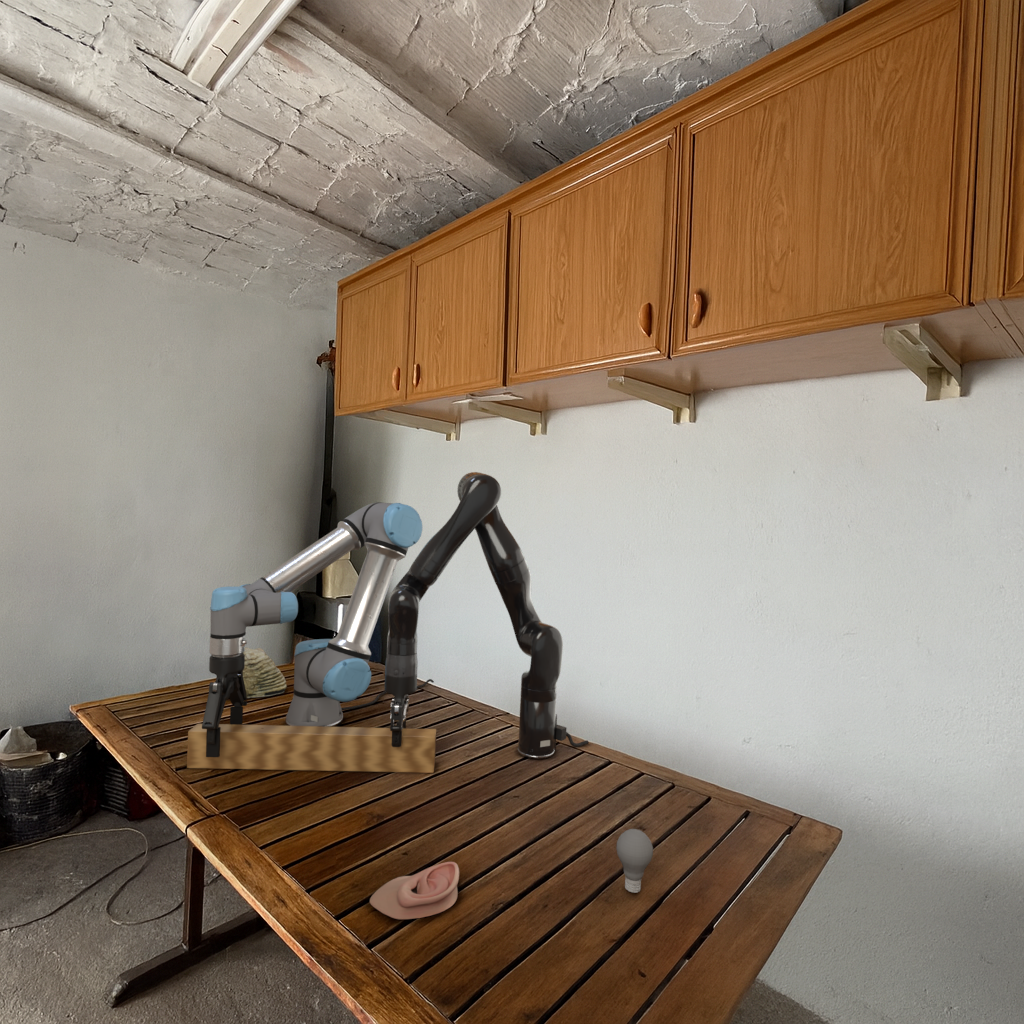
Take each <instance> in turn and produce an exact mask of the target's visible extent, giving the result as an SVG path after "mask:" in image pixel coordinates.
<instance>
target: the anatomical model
mask: <svg viewBox="0 0 1024 1024" xmlns="http://www.w3.org/2000/svg"><path fill="white" fill-rule="evenodd" d="M459 879H460V868H459V865H458V864H457V863H456V862H455V861H446V862H442V863H438V864H435V865H433V866H430V867H427V868H425V869H423V870H421V871H418V872H417V873H415V874H412V875H402V876H398V877H395V878H393V879H391V880H389V881H387V882H386V883H384V884H383V885H381V886H380V887H379V888H378V889H377V890H376V891H375V892H374V893H372V895H371V897H370V898H369V904H370V905H371V906H372V907H373V908H374V909H375V910H376V911H379V912H380V913H381V914H383V915H385V916H387V917H390V918H392V919H395V920H412V919H420V918H425V917H430V916H434V915H437V914H440V913H442V912H445V911H446V910H448V909H450V908H451V907H452V906H453V905H454V904H455V903H456V901H457V899H458V896H459V895H458V894H459V893H458V892H459V891H458V890H459V889H458V883H459V881H460V880H459Z"/></svg>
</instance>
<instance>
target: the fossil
mask: <svg viewBox="0 0 1024 1024" xmlns="http://www.w3.org/2000/svg"><path fill="white" fill-rule="evenodd" d="M243 654H244V655H245V668H244V670H243V679H244V684H245V690H246V695H247V699H250V698H264V697H271V696H275V695H281V694H284V693H285V691H286V689H287V687H288V686H287V680H286V678H285V676H284V674H283V673H282V672H281V669H279V668H278V667H277V665H276V663H275V662H274V660H273V659H272V658H271V657H270V656H269V655H268V654H267V653H266V652H265V650H264V649H263V648H260V647H258V648H251V647H247V646H245V651H244V652H243Z"/></svg>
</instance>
